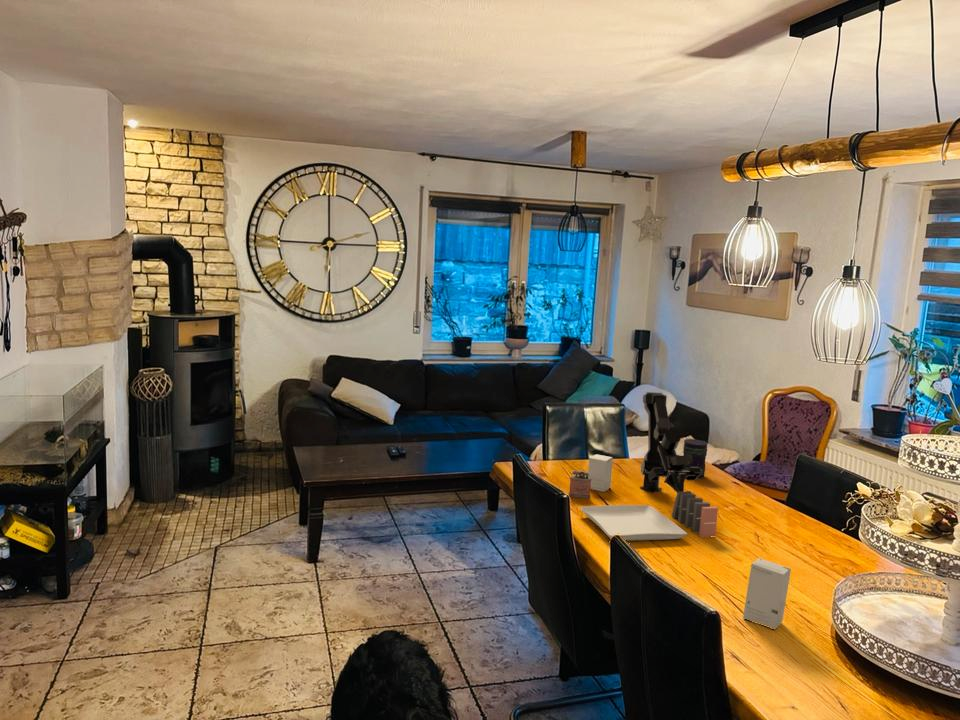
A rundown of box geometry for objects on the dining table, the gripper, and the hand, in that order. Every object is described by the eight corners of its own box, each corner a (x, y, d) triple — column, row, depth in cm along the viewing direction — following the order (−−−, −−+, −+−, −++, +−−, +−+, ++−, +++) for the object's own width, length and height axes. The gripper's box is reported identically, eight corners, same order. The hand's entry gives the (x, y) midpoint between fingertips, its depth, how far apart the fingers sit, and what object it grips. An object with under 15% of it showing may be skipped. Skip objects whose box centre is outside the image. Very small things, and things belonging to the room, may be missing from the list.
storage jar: (707, 479, 299) (710, 445, 297) (684, 478, 299) (687, 444, 298) (700, 472, 309) (703, 439, 307) (678, 471, 309) (681, 438, 307)
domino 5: (698, 536, 233) (701, 506, 231) (712, 535, 234) (715, 506, 233) (701, 538, 231) (704, 508, 230) (715, 537, 232) (718, 508, 231)
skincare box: (742, 619, 177) (748, 563, 175) (751, 611, 181) (757, 556, 179) (777, 632, 171) (783, 573, 169) (784, 623, 176) (791, 566, 174)
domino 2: (677, 521, 246) (680, 493, 244) (690, 520, 247) (693, 493, 245) (680, 523, 244) (682, 495, 243) (693, 522, 245) (695, 494, 244)
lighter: (589, 496, 268) (591, 470, 267) (590, 498, 265) (592, 473, 264) (568, 494, 269) (570, 468, 268) (568, 497, 266) (570, 471, 264)
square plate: (609, 546, 220) (610, 534, 220) (577, 515, 247) (578, 505, 246) (687, 543, 227) (689, 531, 226) (648, 513, 253) (649, 503, 253)
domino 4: (691, 531, 237) (694, 502, 236) (704, 530, 238) (707, 501, 237) (694, 532, 235) (697, 504, 234) (707, 532, 237) (710, 503, 235)
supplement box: (611, 488, 280) (613, 457, 278) (603, 492, 274) (606, 460, 272) (593, 484, 284) (596, 453, 282) (586, 488, 278) (588, 457, 276)
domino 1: (671, 515, 250) (677, 491, 246) (684, 515, 251) (690, 491, 247) (673, 518, 248) (679, 494, 245) (686, 518, 250) (692, 493, 246)
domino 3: (684, 526, 241) (687, 497, 240) (697, 525, 242) (700, 497, 241) (687, 527, 240) (689, 499, 238) (700, 527, 241) (703, 499, 240)
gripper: (654, 445, 249) (667, 485, 239) (701, 445, 253) (716, 484, 244) (642, 461, 257) (654, 500, 248) (688, 460, 262) (701, 498, 253)
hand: (681, 495), depth 248 cm, fingers closed
